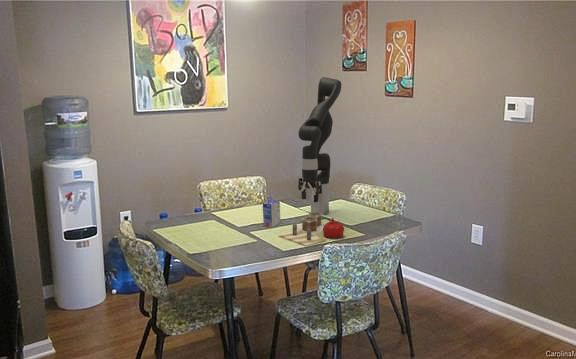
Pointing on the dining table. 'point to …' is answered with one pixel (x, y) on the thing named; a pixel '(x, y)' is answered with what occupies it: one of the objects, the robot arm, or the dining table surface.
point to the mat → (319, 229)
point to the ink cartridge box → (271, 212)
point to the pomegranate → (333, 229)
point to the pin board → (302, 237)
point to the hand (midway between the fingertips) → (309, 200)
